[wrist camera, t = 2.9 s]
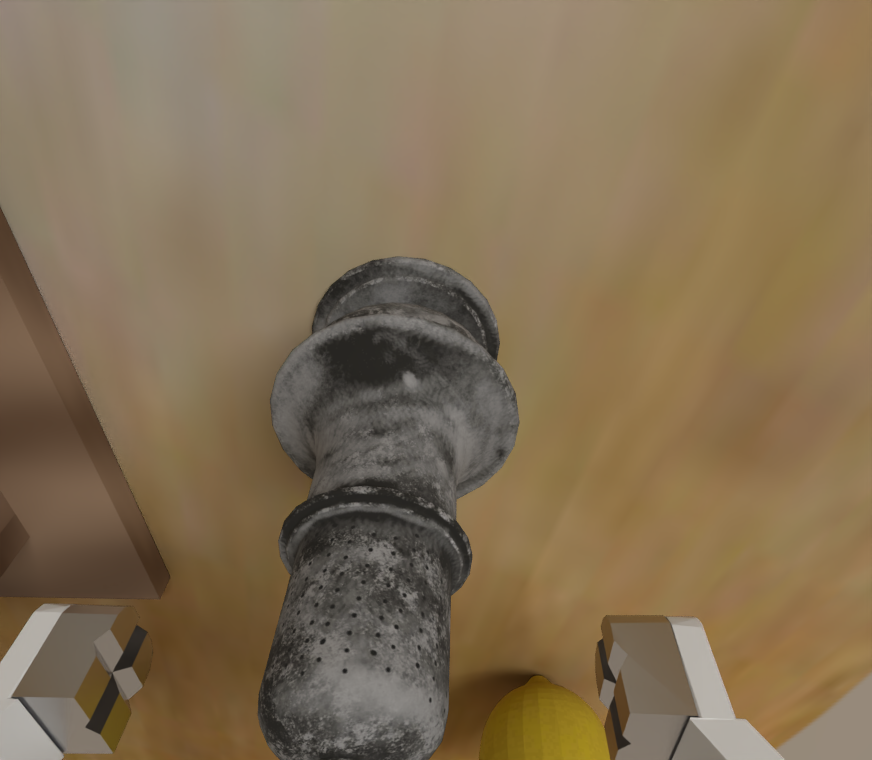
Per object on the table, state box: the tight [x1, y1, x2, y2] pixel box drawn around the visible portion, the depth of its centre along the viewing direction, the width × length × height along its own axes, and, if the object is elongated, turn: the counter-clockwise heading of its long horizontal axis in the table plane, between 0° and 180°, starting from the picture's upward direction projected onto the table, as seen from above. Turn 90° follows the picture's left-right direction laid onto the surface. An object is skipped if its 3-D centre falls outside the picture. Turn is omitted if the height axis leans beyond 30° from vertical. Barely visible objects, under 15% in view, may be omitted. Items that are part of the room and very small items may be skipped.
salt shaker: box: [258, 257, 519, 760], centre depth 12 cm, size 6×6×12 cm
